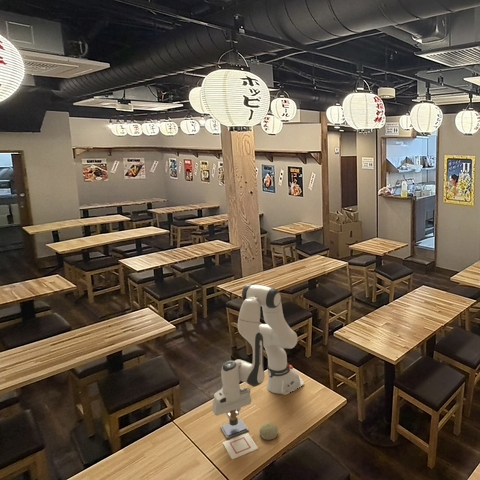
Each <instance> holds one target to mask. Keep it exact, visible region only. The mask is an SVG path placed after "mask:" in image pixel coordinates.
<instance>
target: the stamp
mask: <svg viewBox="0 0 480 480" xmlns="http://www.w3.org/2000/svg"><path fill="white" fill-rule="evenodd" d="M236 410H237V409H235V410H232V411H229V413H230V414H231V418H229V419H228V422H229V423H230V425H232V426H235V425H237V424H238V420H239V419H238V417H237V416H236ZM229 423H228V424H229Z"/></svg>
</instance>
